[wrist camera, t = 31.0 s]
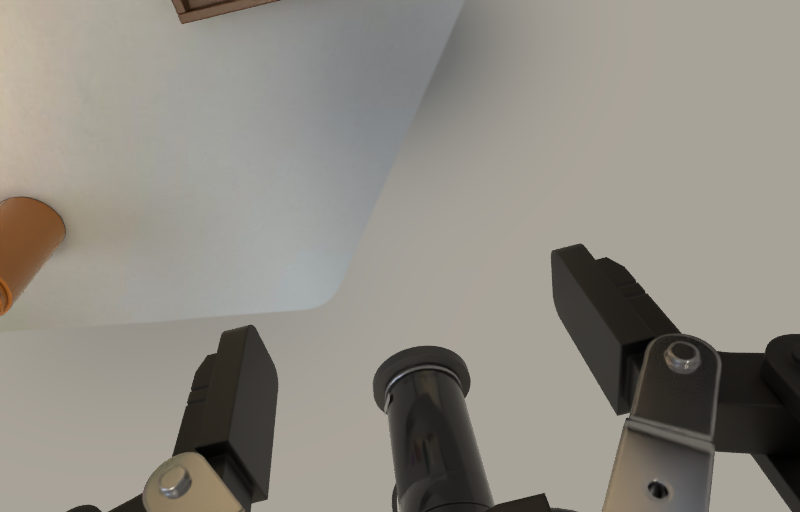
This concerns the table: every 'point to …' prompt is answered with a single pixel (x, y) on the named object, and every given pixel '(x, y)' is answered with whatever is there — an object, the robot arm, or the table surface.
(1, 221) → the jar
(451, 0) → the table surface
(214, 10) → the tray
